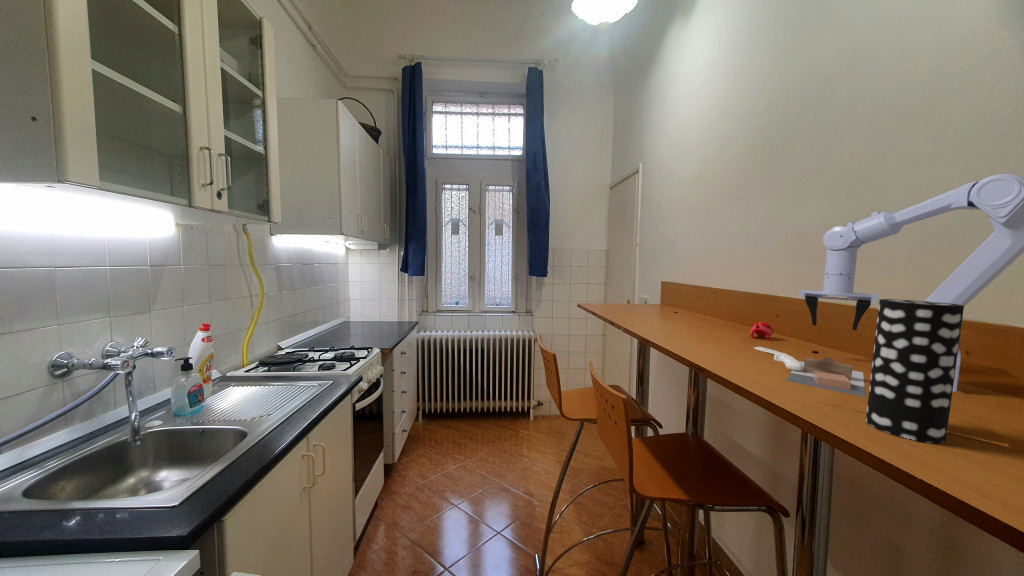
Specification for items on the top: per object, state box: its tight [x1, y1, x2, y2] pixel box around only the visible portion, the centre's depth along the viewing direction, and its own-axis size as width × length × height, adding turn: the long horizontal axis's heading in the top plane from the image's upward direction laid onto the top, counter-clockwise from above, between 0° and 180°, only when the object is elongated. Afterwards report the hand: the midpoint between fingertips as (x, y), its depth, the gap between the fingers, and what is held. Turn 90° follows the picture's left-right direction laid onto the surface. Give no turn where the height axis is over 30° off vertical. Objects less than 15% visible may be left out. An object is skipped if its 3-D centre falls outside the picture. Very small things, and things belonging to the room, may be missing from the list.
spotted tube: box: [865, 298, 965, 444], centre depth 54 cm, size 8×8×20 cm
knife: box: [753, 346, 802, 371], centre depth 95 cm, size 30×2×8 cm
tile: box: [814, 371, 851, 390], centre depth 74 cm, size 5×5×2 cm
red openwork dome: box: [748, 321, 774, 341], centre depth 119 cm, size 8×6×6 cm
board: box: [785, 360, 866, 398], centre depth 79 cm, size 12×22×1 cm, turn 136°
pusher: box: [803, 356, 853, 381], centre depth 81 cm, size 8×6×3 cm
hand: (833, 327), depth 91 cm, fingers open, 7 cm apart
